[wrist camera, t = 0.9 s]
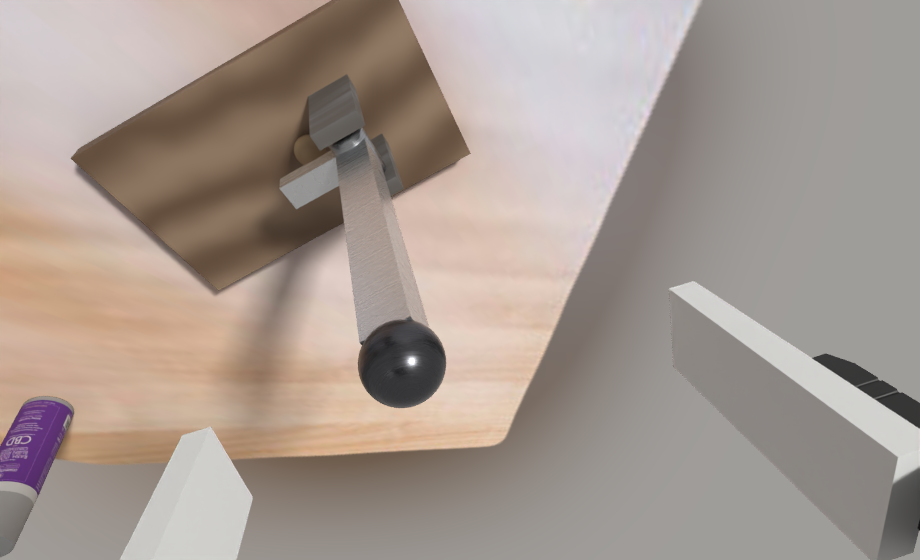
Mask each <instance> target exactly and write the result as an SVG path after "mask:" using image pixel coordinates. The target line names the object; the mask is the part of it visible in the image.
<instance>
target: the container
mask: <svg viewBox="0 0 920 560" xmlns="http://www.w3.org/2000/svg"><path fill="white" fill-rule="evenodd" d="M73 414H74V409H73V407H72V406H71V404H69V403H68V402H66V401H65V400H62V399H60V398H56V397H49V396H41V397H35V398H32V399H29V400H27V401H26V402H25V403H24V404H23V406H22V407H21V409H20V411H19V413H18V415H17V416H16V418H15V420H14V422H13V424H12V426H11V427H10V429H9V431H8V433H7V435H6V437H5V438H4V440H3V442H2V444H1V446H0V557H1V556H4V555H6V554H8V553H10V552H11V551H12V550H13V548H14V546H15V544H16V542H17V540H18V538H19V535H20V533H21V531H22V529H23V527H24V525H25V522H26V521H27V519H28V516H29V514H30V512H31V510H32V508H33V506H34V503H35V502H36V499H37V497H38V495H39V493H40V490H41V488H42V486H43V484H44V481H45V479H46V477H47V474H48V472H49V470H50V467H51V465H52V463H53V461H54V458H55V456H56V454H57V451H58V449H59V447H60V444H61V442H62V440H63V438H64V435H65V433H66V431H67V428H68V426H69V424H70V421H71V419H72V417H73Z"/></svg>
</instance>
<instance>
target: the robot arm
mask: <svg viewBox="0 0 920 560" xmlns="http://www.w3.org/2000/svg"><path fill="white" fill-rule="evenodd" d="M669 299H670V300H669V301H670V318H671V335H672V351H673V352H672V353H673V367H674V368H675V369H676V370H677V371H678V372H679V373H680V374H681V375H682V376H683V377H684V378H686V380H687V381H688V382H690V383H691V385H692V386H694V387H695V388H696V389H697V390H698V391H699V392H700V393H701V394H702V395H703V396H704V397H705V398H706V399H707V400H708V401H709V402H710V403H711V404H712V405H713V406H714V407H715V408H716V409H717V410H718V411H719V412H720V413H721V414H722V415H723V416H724V417H725V418H726V419H727V420H728V421H729V422H730V423H732V425H734V427H735V428H736V429H737V430H738V431H739V432H740V433H741V434H742V435H744V436H745V437H746V438H747V439H748V440H749V441H750V442H751V443H752V444H753V445H754V446H755V447H756V448H757V449H758V450H759V451H760V452H761V453H762V454H763V455H764V456H765V457H766V458H767V459H768V460H769V461H770V462H771V463H772V464H773V465H774V466H775V467H776V468H777V469H778V470H779V471H780V472H781V473H782V474H783V475H784V476H785V477H786V478H787V479H788V480H790V482H792V483H793V484H794V485H795V486H796V487H797V488H798V489H799V490H800V491H801V492H802V493H803V494H804V495H805V496H806V497H807V498H808V499H809V500H810V501H811V502H812V503H813V504H814V505H815V506H816V507H817V508H818V509H819V510H820V511H821V512H822V513H823V514H824V515H825V516H826V517H827V518H828V519H829V520H830V521H831V522H832V523H833V524H834V525H836V526H837V527H838V529H840V530H841V531H842V532H843V533H844V534H845V535H846V536H847V537H848V538H849V539H850V540H851V541H852V542H853V543H854V544H855V545H856V546H857V547H858V548H859V549H860V550H861V551H862V552H863V553H864V554H865V555H866V556H867V557H868V558H869V559H870V560H892V559H895V558H898V557H901V556H904V555H906V554H910V553H913V552H914V548H915V544H916V540H917V536H918V532H919V530H920V403H919V402H917V401H916V400H914V399H912V398H911V397H909V396H907V395H906V394H904V393H899V392H898V391H897V389H896V388H894V387H893V386H891V385H889V384H888V383H886V382H884V381H879V380H878V378H877V377H876V376H874V375H873V374H871V373H870V372H868V371H866V370H865V369H863V368H861V367H860V366H858V365H856V364H855V363H852V362H849V361H846V360H843V359H840V358H837V357H834V356H831V355H828V354H823V355H820V356H817V357H814V358H811V357H809V356H807V355H806V354H804V353H803V352H801V351H800V350H798V349H797V348H795V347H794V346H792V345H791V344H789V343H788V342H786V341H784V340H783V339H782V338H780V337H779V336H777V335H775V334H774V333H772V332H771V331H769V330H768V329H766V328H765V327H763V326H762V325H760V324H759V323H757V322H756V321H754V320H753V319H751V318H750V317H748V316H746V315H745V314H743V313H742V312H740V311H739V310H737V309H736V308H734V307H733V306H731V305H730V304H728V303H726V302H725V301H724V300H722V299H720V298H719V297H717V296H716V295H714V294H713V293H711V292H710V291H708V290H707V289H705V288H704V287H702V286H701V285H699V284H698V283H696V282H694V281H693V282H690V283H686V284H683V285H679V286H676V287H673V288H670V289H669ZM252 499H253V497H252V495H251V494H250V492H249V490H248V489H247V487H246V485H245V483H244V482H243V480H242V478H241V477H240V475H239V473H238V472H237V470H236V468H235V467H234V465H233V463H232V462H231V460H230V458H229V457H228V455H227V453H226V451H225V450H224V448H223V446H222V445H221V443H220V441H219V440H218V438H217V436H216V435H215V433H214V431H213V430H212V428H211V427H208V428H205V429H201V430H198V431H195V432H191V433H188V434H185V435H182V437H181V439H180V441H179V443H178V445H177V447H176V449H175V451H174V453H173V455H172V457H171V459H170V461H169V463H168V465H167V467H166V469H165V471H164V473H163V475H162V477H161V479H160V481H159V483H158V485H157V487H156V489H155V491H154V493H153V495H152V497H151V499H150V500H149V502H148V505H147V507H146V508H145V511H144V513H143V514H142V516H141V518H140V520H139V522H138V524H137V526H136V528H135V530H134V533H133V534H132V536H131V538H130V540H129V542H128V544H127V546H126V548H125V550H124V553H123V554H122V556H121V558H120V560H236V559H237V556H238V551H239V548H240V544H241V540H242V537H243V533H244V529H245V526H246V522H247V518H248V514H249V510H250V507H251V503H252Z"/></svg>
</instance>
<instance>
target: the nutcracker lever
mask: <svg viewBox="0 0 920 560" xmlns="http://www.w3.org/2000/svg"><path fill="white" fill-rule="evenodd" d="M329 148H330V149H331V151H329V152H327V153H325V154H324V155H322V156H320V157H318V158H316V159H315V160H313V161H311V162H309V163H307V164H306V165H304V166H302V167H300V168H298V169H297V170H295V171H293V172H291V173H289V174H288V175H286V176H284V177H282V178H281V179H280V187H279V189H280V190H281V191H282V192H283V194H284V195H285V196H286V197H287V198H288V200H289V201H290V202H291V203H292V205H293V206H294V207H295V208H296V209H298V208H299V207H301V206H303V205H305V204H307V203H309V202H310V201H312V200H314V199H316V198H318V197H319V196H321V195H323V194H325V193H327V192H329V191H330V190H332V189H334V188H336V187H338V186H339V187H340V195H341V203H342V210H343V218H344V226H345V233H346V241H347V249H348V257H349V264H350V272H351V280H352V287H353V295H354V303H355V311H356V318H357V326H358V334H359V341H360V343H361V345H362V347H361V350H360V353H359V358H358V371H359V376H360V379H361V382H362V384H363V386H364V387H365V389H366V391H367V392H368V393H369V394H370V395H371V396H372V397H373V398H374V399H375V400H377V401H378V402H380V403H382V404H384V405H387V406H390V407H395V408H408V407H413V406H416V405H418V404H421V403H422V402H424V401H426V400H427V399H429V398H430V397H431V396H432V395H433V394H434V393H435V392H436V391H437V389H438V388H439V386H440V384H441V382H442V380H443V378H444V375H445V370H446V356H445V351H444V348H443V345H442V343H441V341H440V340H439V338H438V337H437V335H436V334H435V333H434V332H433V331H432V330H431V329H430V328H429V325H428V322H427V318H426V315H425V311H424V308H423V305H422V301H421V298H420V294H419V291H418V288H417V284H416V281H415V277H414V274H413V271H412V267H411V264H410V260H409V257H408V254H407V250H406V247H405V243H404V240H403V237H402V233H401V230H400V226H399V223H398V220H397V216H396V213H395V209H394V206H393V203H392V199H391V196H390V192H389V189H388V186H387V182H386V179H385V175H384V173H385V171H386V168H387V166H386V164H385V163H384V161H383V159H382V158H381V156H380V154H379V153H378V151H377V150H376V148H375V146H374V145H373V143H372V141H371V140H370V138H369V137H368V135H367V133H366V132H365V130H364V128H363V127H362V128H360V129H358V130H356V131H355V132H353V133H351V134H349V135H347V136H346V137H344V138H342V139H340V140H338V141H337V142H335V143H333V144H331V145H330V146H329Z"/></svg>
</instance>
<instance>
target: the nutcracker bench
mask: <svg viewBox="0 0 920 560" xmlns="http://www.w3.org/2000/svg"><path fill="white" fill-rule="evenodd" d="M362 127H363V128H364V130H365V132H366V133H367V135H368V137H369V138H370V140H371V141H372V143H373V145H374V146H375V148H376V150H377V151H378V153H379V154H380V156H381V158H382V159H383V161H384V163H385V164H386V166H387V168H386V171H385V173H384V175H385V179H386V182H387V186H388V189H389V192H390V196H391V197H392V196H393V195H395V194H397V193H399V192H401V191H403V190H404V189H406V188H408V187H410V186H412V185H414V184H415V183H417V182H419V181H421V180H423V179H425V178H427V177H428V176H430V175H432V174H434V173H436V172H438V171H439V170H441V169H443V168H445V167H447V166H449V165H450V164H452V163H454V162H456V161H458V160H460V159H461V158H463V157H465V156H467V155H469V154H470V151H469V149H468V147H467V145H466V143H465V141H464V139H463V136H462V134H461V132H460V130H459V128H458V126H457V124H456V122H455V119H454V117H453V115H452V113H451V111H450V109H449V107H448V104H447V102H446V100H445V98H444V96H443V94H442V92H441V90H440V87H439V85H438V83H437V81H436V79H435V77H434V75H433V73H432V70H431V68H430V66H429V64H428V62H427V60H426V58H425V55H424V53H423V51H422V49H421V47H420V45H419V43H418V41H417V38H416V36H415V34H414V32H413V30H412V28H411V26H410V23H409V21H408V19H407V17H406V15H405V13H404V11H403V9H402V6H401V4H400V2H399V0H332V1H330V2H328V3H326V4H325V5H323V6H321V7H320V8H318V9H316V10H314V11H313V12H311V13H309V14H308V15H306V16H304V17H303V18H301V19H299V20H297V21H296V22H294V23H292V24H291V25H289V26H287V27H285V28H284V29H282V30H280V31H279V32H277V33H275V34H274V35H272V36H270V37H268V38H267V39H265V40H263V41H262V42H260V43H258V44H256V45H255V46H253V47H251V48H250V49H248V50H246V51H245V52H243V53H241V54H239V55H238V56H236V57H234V58H233V59H231V60H229V61H227V62H226V63H224V64H222V65H221V66H219V67H217V68H215V69H214V70H212V71H210V72H209V73H207V74H205V75H204V76H202V77H200V78H198V79H197V80H195V81H193V82H192V83H190V84H188V85H186V86H185V87H183V88H181V89H180V90H178V91H176V92H175V93H173V94H171V95H169V96H168V97H166V98H164V99H163V100H161V101H159V102H157V103H156V104H154V105H152V106H151V107H149V108H147V109H146V110H144V111H142V112H140V113H139V114H137V115H135V116H134V117H132V118H130V119H128V120H127V121H125V122H123V123H122V124H120V125H118V126H117V127H115V128H113V129H111V130H110V131H108V132H106V133H105V134H103V135H101V136H99V137H98V138H96V139H94V140H93V141H91V142H89V143H88V144H86V145H84V146H82V147H81V148H79V149H78V151H77V152H76V153H75V154H74V155H73V156H72V157H71V159H72V160H73V161H74V162H75V163H76V164H77V165H79V166H80V167H81V168H82V169H83V170H84V171H85V172H86V173H87V174H89V175H90V176H91V177H92V178H93V179H94V180H95V181H96V182H98V183H99V184H100V185H101V186H102V187H103V188H104V189H105V190H107V191H108V192H109V193H110V194H111V195H112V196H113V197H114V198H115V199H117V200H118V201H119V202H120V203H121V204H122V205H123V206H124V207H126V208H127V209H128V210H129V211H130V212H131V213H132V214H133V215H135V216H136V217H137V218H138V219H139V220H140V221H141V222H142V223H143V224H145V225H146V226H147V227H148V228H149V229H150V230H151V231H152V232H154V233H155V234H156V235H157V236H158V237H159V238H160V239H161V240H163V241H164V242H165V243H166V244H167V245H168V246H169V247H170V248H171V249H173V250H174V251H175V252H176V253H177V254H178V255H179V256H180V257H182V258H183V259H184V260H185V261H186V262H187V263H188V264H189V265H191V266H192V267H193V268H194V269H195V270H196V271H197V272H198V273H199V274H201V275H202V276H203V277H204V278H205V279H206V280H207V281H208V282H210V283H211V284H212V285H213V286H214V287H215V288H216V289H217V290H218V291H219V290H221V289H222V288H224V287H226V286H228V285H230V284H232V283H233V282H235V281H237V280H239V279H241V278H243V277H244V276H246V275H248V274H250V273H252V272H254V271H255V270H257V269H259V268H261V267H263V266H265V265H266V264H268V263H270V262H272V261H274V260H276V259H278V258H279V257H281V256H283V255H285V254H287V253H289V252H290V251H292V250H294V249H296V248H298V247H300V246H301V245H303V244H305V243H307V242H309V241H311V240H312V239H314V238H316V237H318V236H320V235H322V234H324V233H325V232H327V231H329V230H331V229H333V228H335V227H336V226H338V225H340V224H342V223H344V218H343V210H342V203H341V195H340V187H339V186H338V187H336V188H334V189H332V190H330V191H329V192H327V193H325V194H323V195H321V196H319V197H318V198H316V199H314V200H312V201H310V202H309V203H307V204H305V205H303V206H301V207H299V208H298V209H296V208H295V207H294V206H293V205H292V203H291V202H290V201H289V200H288V198H287V197H286V196H285V195H284V194H283V192H282V191H281V190H280V189H279V187H280V179H281V178H282V177H284V176H286V175H288V174H289V173H291V172H293V171H295V170H297V169H298V168H300V167H302V166H304V165H306V164H307V163H309V162H311V161H313V160H315V159H316V158H318V157H320V156H322V155H324V154H325V153H327V152H329V151H331V149H330V148H329V146H330V145H331V144H333V143H335V142H337V141H338V140H340V139H342V138H344V137H346V136H347V135H349V134H351V133H353V132H355V131H356V130H358V129H360V128H362Z"/></svg>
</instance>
